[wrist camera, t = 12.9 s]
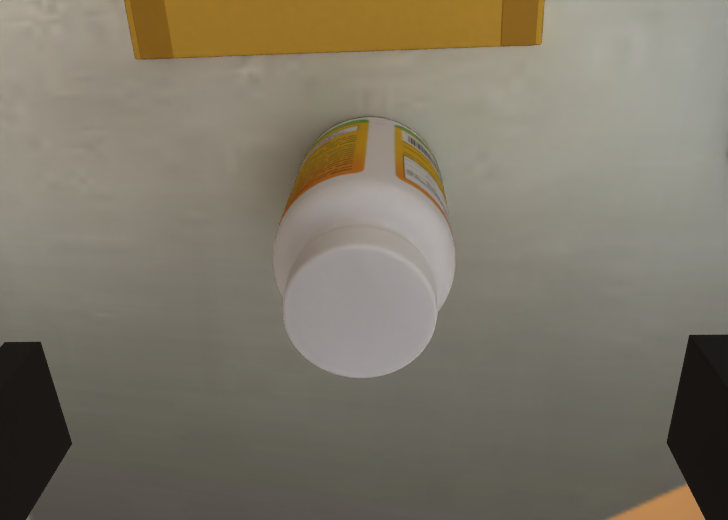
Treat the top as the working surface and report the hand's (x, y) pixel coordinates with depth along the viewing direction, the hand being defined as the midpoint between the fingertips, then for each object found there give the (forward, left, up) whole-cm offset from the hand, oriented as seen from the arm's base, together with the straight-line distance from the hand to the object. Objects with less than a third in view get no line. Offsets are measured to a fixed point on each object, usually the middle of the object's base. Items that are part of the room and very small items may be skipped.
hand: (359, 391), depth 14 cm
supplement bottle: (0, 0, -13) cm, 13 cm away
